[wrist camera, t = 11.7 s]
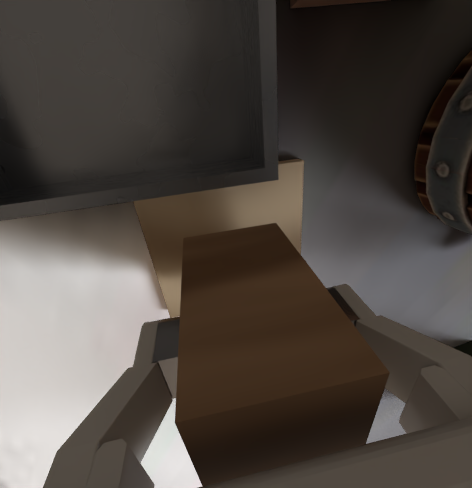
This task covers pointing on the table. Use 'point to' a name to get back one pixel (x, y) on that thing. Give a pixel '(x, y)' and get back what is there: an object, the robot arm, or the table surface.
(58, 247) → the table surface
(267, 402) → the walnut block
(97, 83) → the tin
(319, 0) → the terracotta pot
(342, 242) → the table surface
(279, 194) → the light wooden board
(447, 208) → the mug
